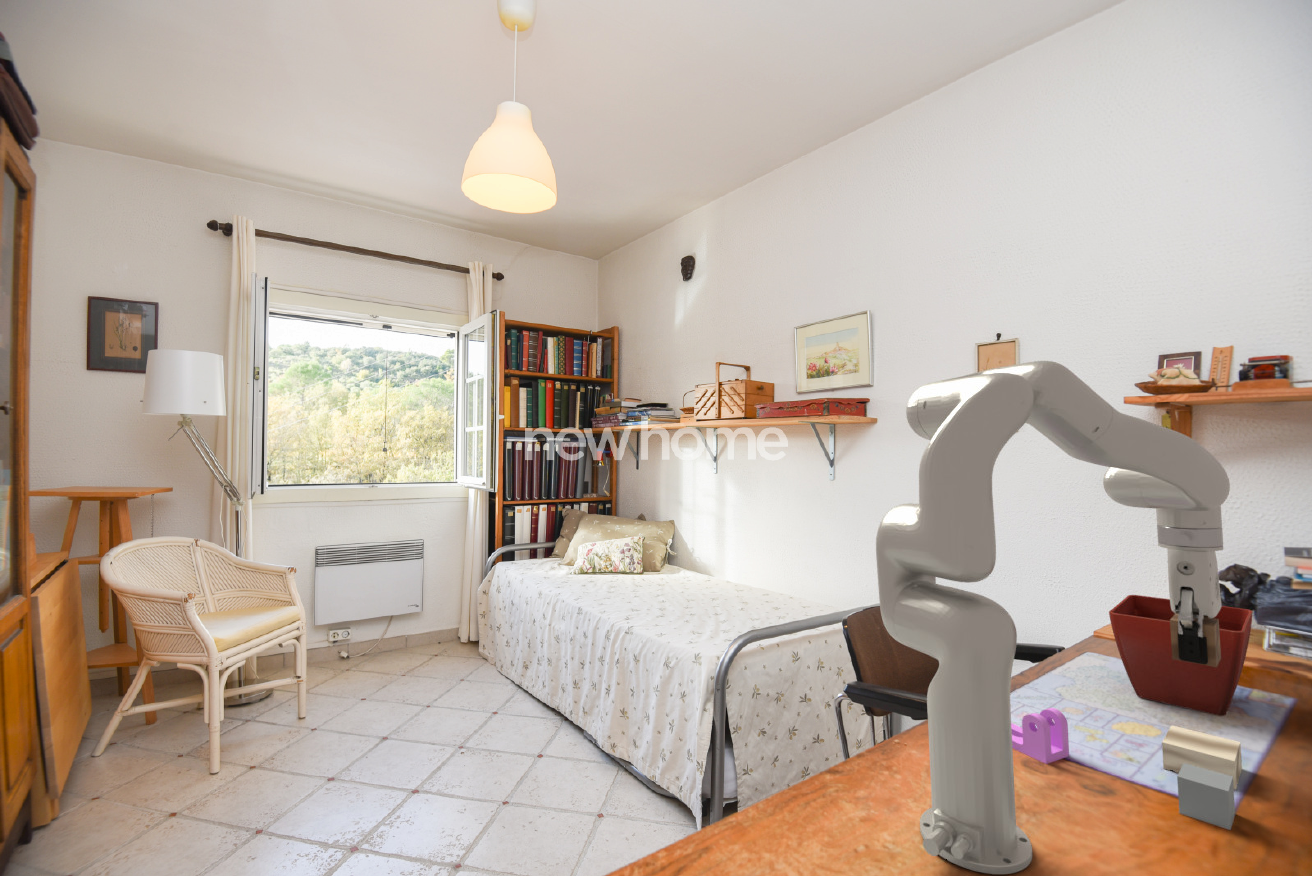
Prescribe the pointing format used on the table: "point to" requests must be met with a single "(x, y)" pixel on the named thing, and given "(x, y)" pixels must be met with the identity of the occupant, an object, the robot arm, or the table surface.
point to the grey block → (1206, 795)
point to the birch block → (1201, 752)
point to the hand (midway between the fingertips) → (1196, 655)
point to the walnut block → (1209, 631)
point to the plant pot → (1173, 681)
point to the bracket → (1042, 736)
